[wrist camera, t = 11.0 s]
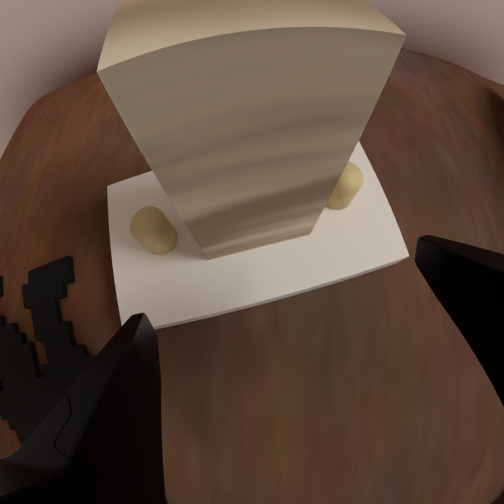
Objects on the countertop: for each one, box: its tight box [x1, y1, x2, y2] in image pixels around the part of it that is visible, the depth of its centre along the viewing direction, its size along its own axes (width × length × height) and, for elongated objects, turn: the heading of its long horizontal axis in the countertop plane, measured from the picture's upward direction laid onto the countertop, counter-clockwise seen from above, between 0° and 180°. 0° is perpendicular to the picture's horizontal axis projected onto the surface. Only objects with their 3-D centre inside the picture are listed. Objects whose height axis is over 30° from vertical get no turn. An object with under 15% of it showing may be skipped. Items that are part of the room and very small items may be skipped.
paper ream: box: [97, 0, 406, 260], centre depth 10 cm, size 4×6×13 cm
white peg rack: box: [107, 141, 409, 330], centre depth 16 cm, size 10×18×4 cm, turn 105°
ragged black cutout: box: [0, 256, 168, 504], centre depth 14 cm, size 16×1×30 cm
